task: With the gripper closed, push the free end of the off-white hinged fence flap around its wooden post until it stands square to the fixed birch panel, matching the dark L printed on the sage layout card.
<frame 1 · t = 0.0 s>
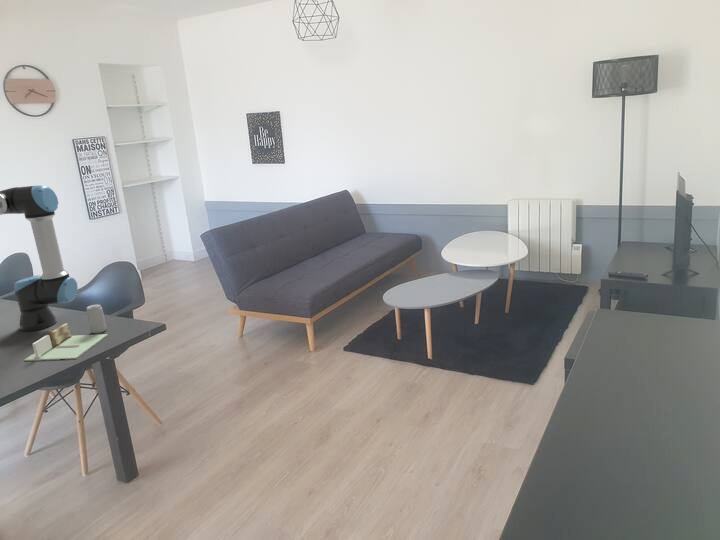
fence fixed: (53, 348, 231), resting on layout card
layout card: (68, 347, 231), on the table
fence flap: (42, 346, 225), point 4 cm above the table, hinge at 0.0°
beverage can: (99, 332, 247), on the table
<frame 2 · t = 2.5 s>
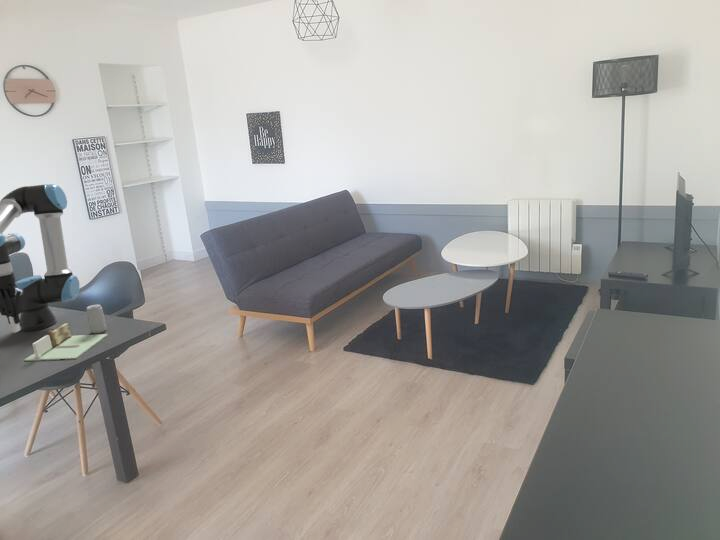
hand: (16, 331, 221), 12 cm above the table, fingers closed
nothing on the table moved.
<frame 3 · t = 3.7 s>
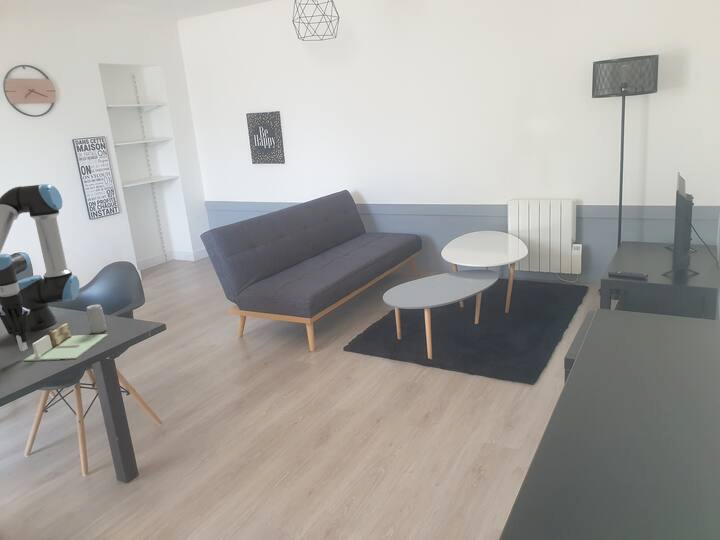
hand: (23, 349, 223), 3 cm above the table, fingers closed
nothing on the table moved.
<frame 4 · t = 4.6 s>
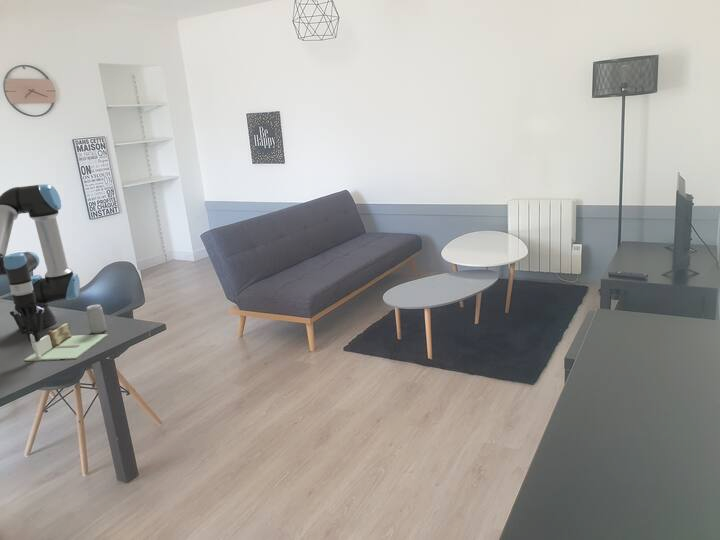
hand: (36, 348, 223), 4 cm above the table, fingers closed
fence flap: (42, 346, 225), point 4 cm above the table, hinge at 0.8°, touching gripper
everything else where it was.
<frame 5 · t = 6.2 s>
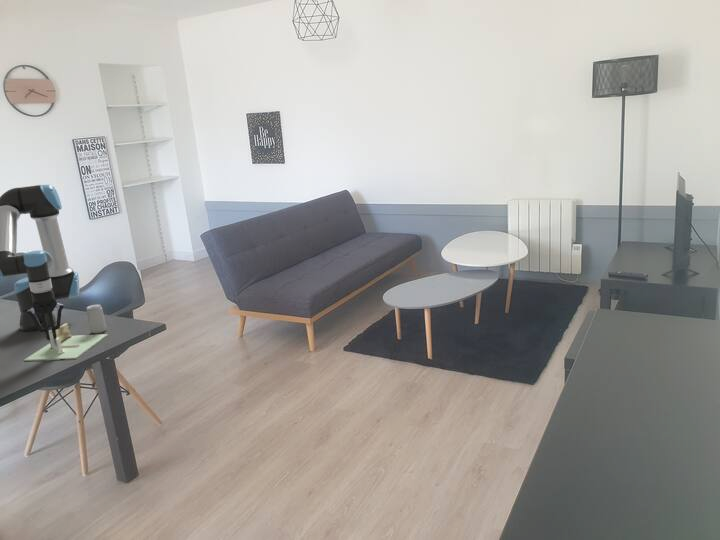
hand: (53, 346, 224), 4 cm above the table, fingers closed
fence flap: (56, 343, 226), point 4 cm above the table, hinge at 49.5°, touching gripper
everything else where it was.
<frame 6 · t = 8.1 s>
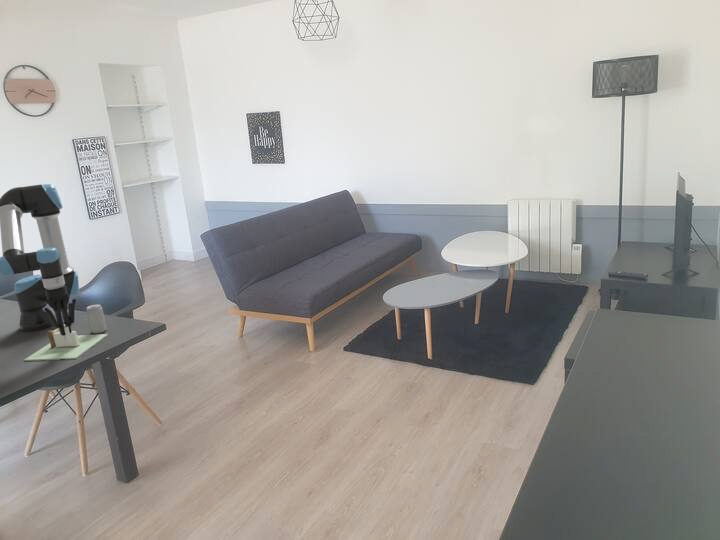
hand: (68, 341, 228), 4 cm above the table, fingers closed
fence flap: (66, 339, 230), point 4 cm above the table, hinge at 95.1°
everything else where it was.
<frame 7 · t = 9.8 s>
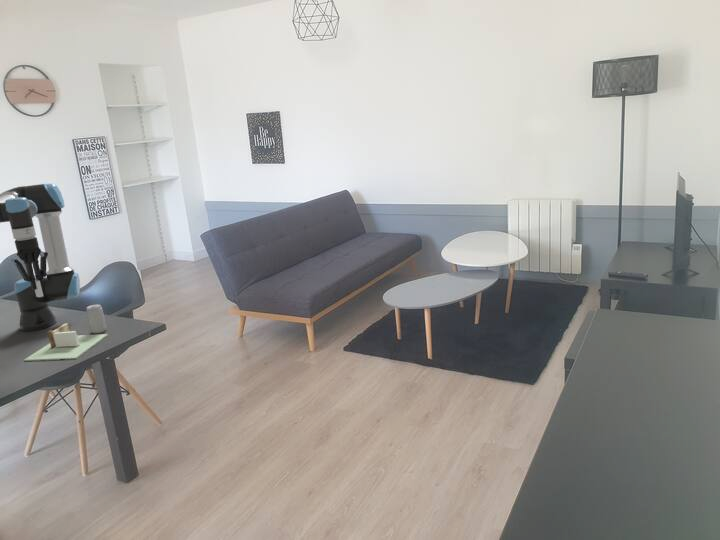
hand: (39, 296, 220), 24 cm above the table, fingers closed
nothing on the table moved.
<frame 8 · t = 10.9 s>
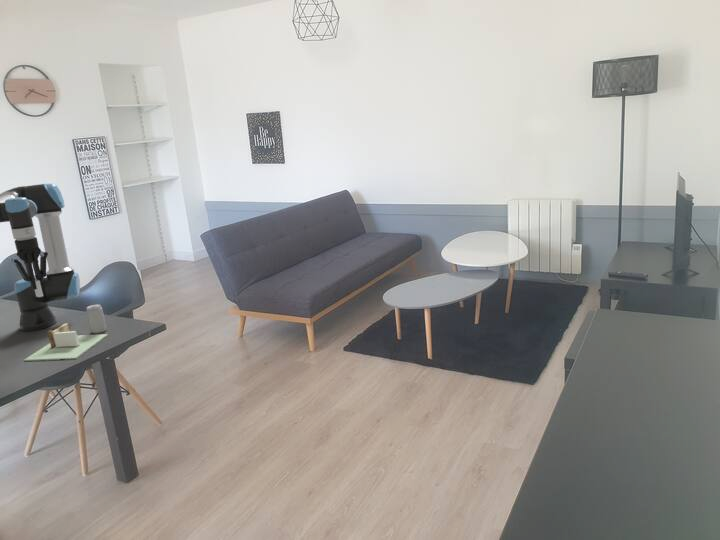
hand: (39, 296, 220), 24 cm above the table, fingers closed
nothing on the table moved.
at the end: fence flap at +95° (first picture: +0°); beverage can moved 0.2 cm from its start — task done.
